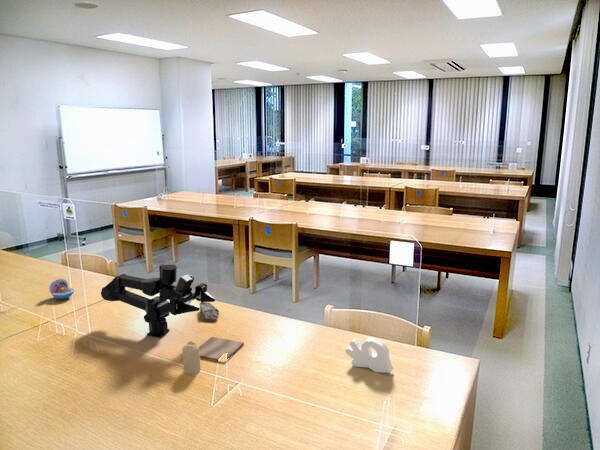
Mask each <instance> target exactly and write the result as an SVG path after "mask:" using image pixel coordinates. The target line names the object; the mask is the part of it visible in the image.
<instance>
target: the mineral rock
mask: <svg viewBox="0 0 600 450" xmlns="http://www.w3.org/2000/svg"><path fill="white" fill-rule="evenodd" d="M199 308H200V309H199V313H200V317H201V318H202V319H210V320H217V319H219V316H220V315H219V313H220V311H219V309H218V308H217V307H216V306H215V305H213V304H211V302H201V301H200V303H199Z"/></svg>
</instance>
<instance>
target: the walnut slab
mask: <svg viewBox="0 0 600 450" xmlns="http://www.w3.org/2000/svg"><path fill="white" fill-rule="evenodd" d="M243 346H244V342H242V341H238V340H234V339H233V340H231V339H226V338H222V337H217V336H210V337H209V338H208V339H207V340H206V341H204V342H203V343H202V344H200V345H199V352H200V359H202V360H203V359H204V360H209V361H212V362H213V361H214V362H218V359H219V358H220V357H221V356H222V355H223V354H225V353H228V354H227V359H228V358H230V357H231V356H232V357H233V356H234V355H235V354H236V353H237V352H238V351H239V350H240V349H242V347H243ZM232 357H231V358H232ZM231 358H230V359H231Z"/></svg>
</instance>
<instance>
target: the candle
mask: <svg viewBox="0 0 600 450" xmlns="http://www.w3.org/2000/svg"><path fill="white" fill-rule="evenodd" d="M199 347H200V345H199V344H198V343H196V342H193V341H188V342H187V343H186V344H184V345H183V347H182V359H183V360H182V362H183V372H184V373H185V374H186V375H196V374H199V372H200V371H201V368H202V367H201V358H200V352H199Z"/></svg>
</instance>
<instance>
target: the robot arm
mask: <svg viewBox="0 0 600 450" xmlns="http://www.w3.org/2000/svg"><path fill="white" fill-rule="evenodd" d="M158 269H159V277H151V278H143V277H138V276H134V275H128V274H126V273H122V274H119V275H117V276H115V277H113V279H112V280H111V281H110V282H108V283H107V284H106V285H105V286H104V287H102V288H101V290H100V291H101V292H100V296H101V298H102V299H103V300H104V301H108V302H121V303H124V304H126V305H127V304H128V305H130V306H133V307H135V308H137V309H139V310H142V311H144V312H145V313H146V314H145V315H144V316H143V319H144V322H145V323H148V329H149V331H148V333H146V336H150V337H155V338H161V337H164V335H165V334H168V333H169V332H170V329H169V328H168V322H167V317H169V316H170V315H173V316H177V315H182V314H186V313H192V312H198V311H199V312H200V306H197V305H195V304H193V303H192V302H193V301H195V300H196V301H197V302H200V303H201V302H207V303H214V302H216V299H215V297H214V296H212V295H211V293H210V292H208V284H206V283H205V282H204V283H203V282H202V283H200V284H198V285H196V286H195V287H194V292H192V291H193V287H191V286H192V283H194V280H195V277H194V276H193V274H189V273H188V274H184V275H183V276H180V277H179V279H178V281H177V269H178V268H177V265H176V264H160V265H159V268H158ZM176 282H177V284H176V285H174V284H175V283H176ZM126 288H130V289H134V290H139V291H141V292H142V293H143V294H144V295H146V296H149V297H152V298H149V297H145V296H143V295H140V294H138V293H135V292H133V291H129V290H127V289H126ZM158 294H159V295H158ZM156 295H157V296H156Z"/></svg>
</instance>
